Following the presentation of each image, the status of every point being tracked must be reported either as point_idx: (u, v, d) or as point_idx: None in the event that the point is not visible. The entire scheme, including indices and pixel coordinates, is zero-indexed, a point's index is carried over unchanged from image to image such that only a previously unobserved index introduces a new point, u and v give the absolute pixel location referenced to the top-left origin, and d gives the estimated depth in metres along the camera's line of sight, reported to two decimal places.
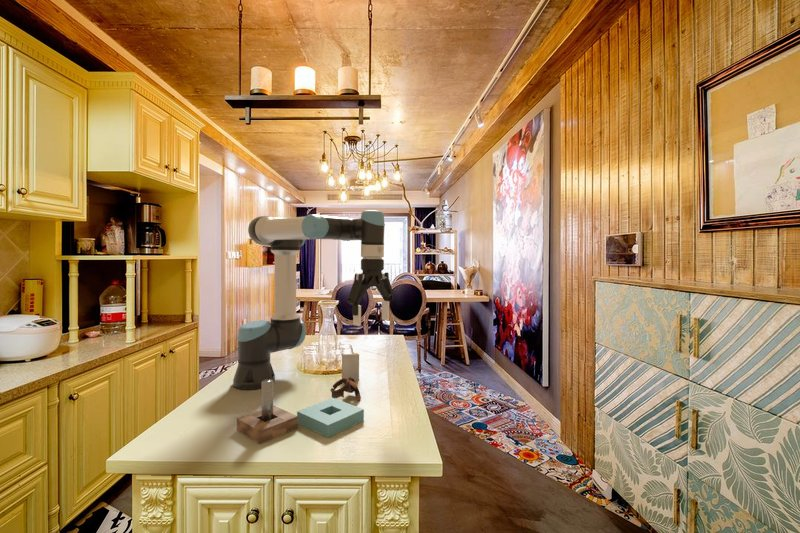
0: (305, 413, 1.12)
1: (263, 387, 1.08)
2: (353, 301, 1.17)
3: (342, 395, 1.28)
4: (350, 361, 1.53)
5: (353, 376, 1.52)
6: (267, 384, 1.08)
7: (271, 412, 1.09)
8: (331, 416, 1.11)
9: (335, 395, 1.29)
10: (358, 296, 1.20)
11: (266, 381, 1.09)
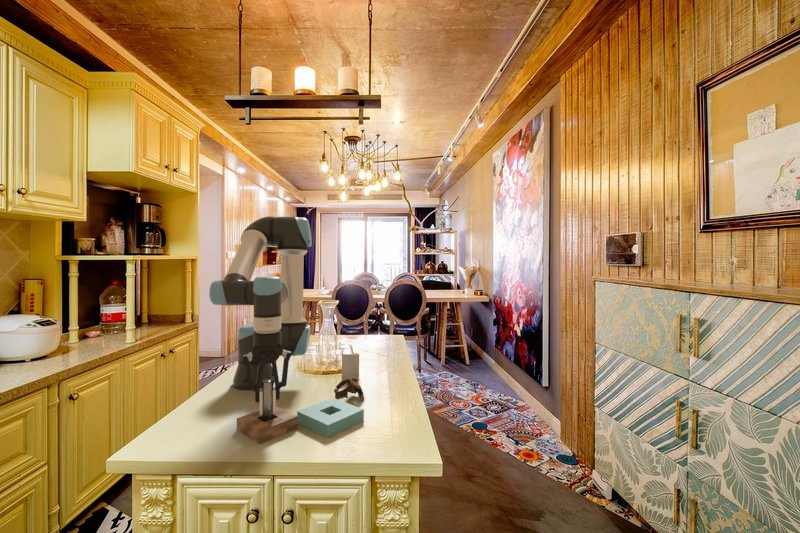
0: (305, 413, 1.12)
1: (263, 387, 1.08)
2: (250, 388, 1.06)
3: (346, 396, 1.27)
4: (350, 361, 1.53)
5: (353, 376, 1.52)
6: (267, 384, 1.08)
7: (271, 412, 1.09)
8: (331, 416, 1.11)
9: (339, 396, 1.28)
10: (256, 381, 1.08)
11: (266, 381, 1.09)
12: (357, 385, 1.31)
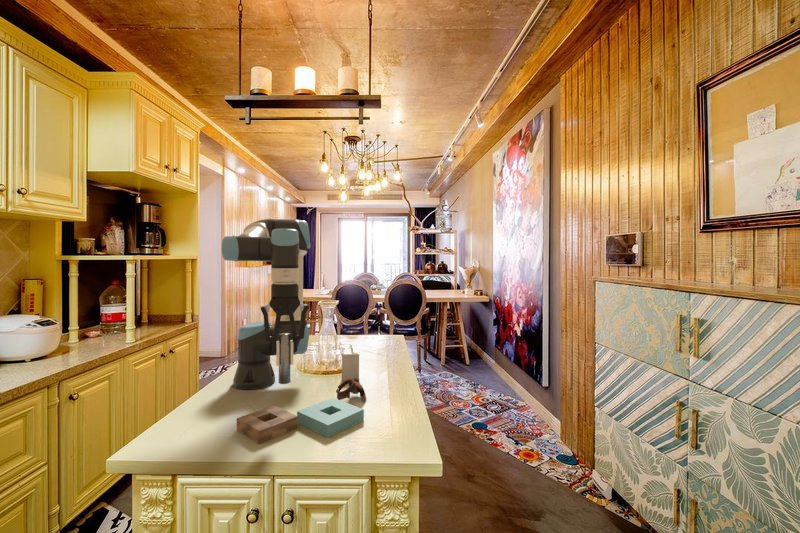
0: (305, 413, 1.12)
1: (280, 339, 1.08)
2: (267, 338, 1.07)
3: (348, 396, 1.27)
4: (350, 361, 1.53)
5: (353, 376, 1.52)
6: (284, 337, 1.08)
7: (288, 365, 1.09)
8: (331, 416, 1.11)
9: (341, 396, 1.28)
10: (273, 332, 1.08)
11: (283, 334, 1.10)
12: (359, 385, 1.31)
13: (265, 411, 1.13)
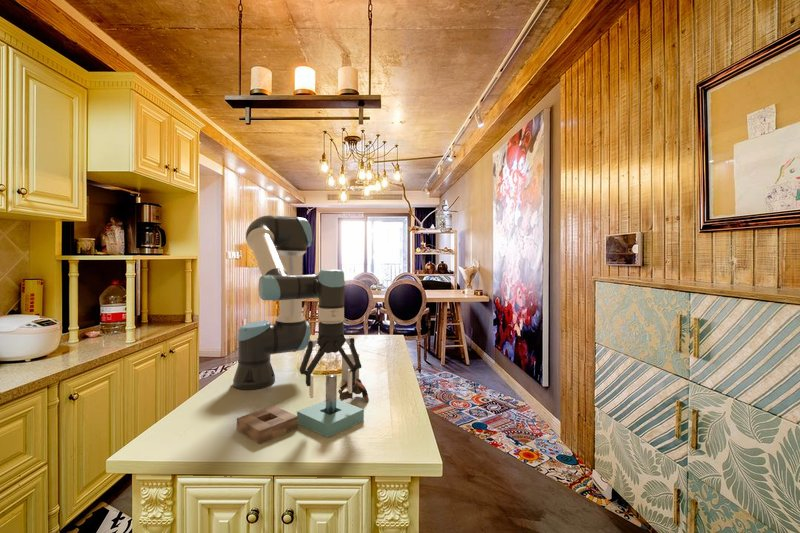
0: (305, 413, 1.12)
1: (328, 381, 1.13)
2: (302, 371, 1.10)
3: (351, 397, 1.26)
4: None
5: None
6: (332, 379, 1.13)
7: (335, 405, 1.14)
8: (331, 416, 1.11)
9: (343, 397, 1.27)
10: (310, 365, 1.12)
11: (330, 376, 1.14)
12: (362, 386, 1.30)
13: (265, 411, 1.13)
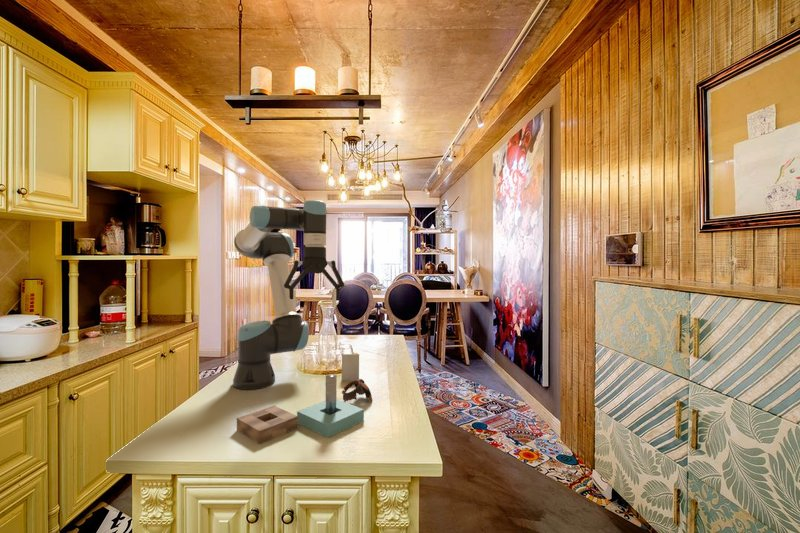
0: (305, 413, 1.12)
1: (328, 381, 1.13)
2: (285, 285, 1.26)
3: (355, 397, 1.26)
4: (350, 361, 1.53)
5: (353, 376, 1.52)
6: (332, 379, 1.13)
7: (335, 405, 1.14)
8: (331, 416, 1.11)
9: (347, 397, 1.27)
10: (294, 281, 1.28)
11: (330, 376, 1.14)
12: (365, 386, 1.30)
13: (265, 411, 1.13)
